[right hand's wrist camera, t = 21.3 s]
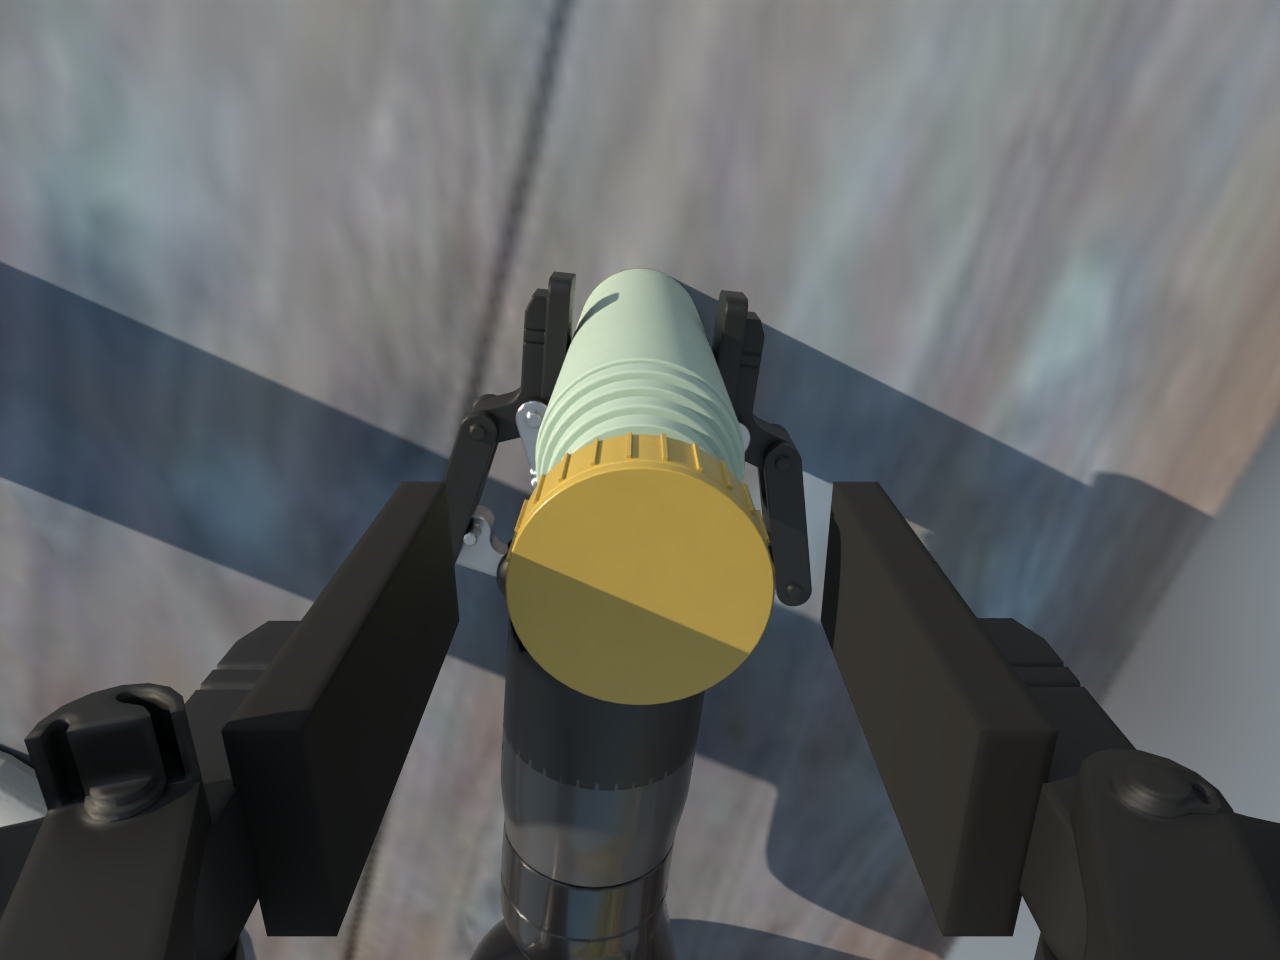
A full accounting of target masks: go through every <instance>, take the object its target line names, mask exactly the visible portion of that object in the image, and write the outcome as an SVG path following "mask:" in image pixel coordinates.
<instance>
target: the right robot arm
mask: <svg viewBox="0 0 1280 960" xmlns="http://www.w3.org/2000/svg"><path fill="white" fill-rule="evenodd" d="M458 623H459V613H458V602H457V591H456V580H455V569H454V558H453V547H452V536H451V525H450V514H449V503H448V493H447V482H402V483H401V484H400V486H399V487H398V488H397V490H396V491H395V492H394V494H393V495H392V497H391V498H390V499H389V501H388V502H387V503H386V505H385V506H384V508H383V509H382V510H381V512H380V513H379V514H378V516H377V517H376V519H375V520H374V521H373V523H372V524H371V525H370V527H369V528H368V530H367V531H366V532H365V534H364V535H363V536H362V538H361V539H360V541H359V542H358V543H357V545H356V546H355V547H354V549H353V550H352V552H351V553H350V554H349V556H348V557H347V558H346V560H345V561H344V563H343V564H342V565H341V567H340V568H339V569H338V571H337V572H336V574H335V575H334V576H333V578H332V579H331V580H330V582H329V583H328V585H327V586H326V587H325V589H324V590H323V591H322V593H321V594H320V596H319V597H318V598H317V600H316V601H315V602H314V604H313V605H312V607H311V608H310V609H309V611H308V612H307V613H306V615H305V616H304V617H303V619H302V620H301V621H268V622H266V623H265V624H263V625H262V626H260V627H258V628H257V629H255V630H254V631H252V632H251V633H249V634H247V635H246V636H244V637H243V638H241V639H240V640H238V641H237V642H236V643H235V644H234V645H233V647H232V648H231V649H230V650H229V651H228V653H227V654H226V655H225V656H224V657H223V659H222V660H221V661H220V662H219V663H218V665H217V670H213V671H212V672H211V673H210V674H209V675H208V677H207V678H206V679H205V680H204V682H203V683H202V684H201V689H200V690H196V691H195V692H194V694H193V695H192V696H191V697H190V698H189V700H188V701H187V702H186V703H185V704H184V701H183V696H181V695H180V694H179V693H177V692H176V691H175V690H173V689H172V688H171V687H167V686H162V685H156V684H151V683H145V684H132V685H121V686H117V687H113V688H109V689H106V690H102V691H98V692H94V693H91V694H89V695H86V696H84V697H82V698H80V699H77V700H75V701H73V702H70V703H68V704H66V705H64V706H62V707H60V708H59V709H58V710H56V711H55V712H53V713H52V714H50V715H49V716H47V717H46V718H44V719H43V720H41V721H40V722H39V723H38V724H37V725H36V726H35V728H34V729H33V730H32V731H31V732H30V734H29V735H28V736H27V737H26V738H25V740H24V741H25V744H26V747H27V750H28V753H29V756H30V759H31V762H32V765H33V768H34V771H35V774H36V777H37V780H38V783H39V786H40V789H41V792H42V795H43V798H44V801H45V804H46V807H47V810H48V811H47V813H46V815H45V817H41V818H38V819H34V820H30V821H26V822H21V823H17V824H12V825H7V826H3V827H0V960H245V956H244V950H243V945H242V941H241V937H240V933H241V931H242V930H243V928H244V926H245V924H246V922H247V920H248V918H249V916H250V914H251V912H252V910H253V908H254V906H255V904H256V902H257V900H258V898H259V902H260V906H261V911H262V915H263V920H264V924H265V928H266V933H267V936H337V935H338V932H339V929H340V927H341V924H342V922H343V919H344V917H345V914H346V911H347V909H348V906H349V904H350V901H351V898H352V896H353V893H354V891H355V888H356V886H357V883H358V880H359V878H360V875H361V873H362V870H363V868H364V865H365V862H366V860H367V857H368V855H369V852H370V850H371V847H372V844H373V842H374V839H375V837H376V834H377V832H378V829H379V826H380V824H381V821H382V819H383V816H384V813H385V811H386V808H387V806H388V803H389V801H390V798H391V795H392V793H393V790H394V788H395V785H396V783H397V780H398V777H399V775H400V772H401V770H402V767H403V765H404V762H405V759H406V757H407V754H408V752H409V749H410V746H411V744H412V741H413V739H414V736H415V734H416V731H417V728H418V726H419V723H420V721H421V718H422V716H423V713H424V710H425V708H426V705H427V703H428V700H429V698H430V695H431V692H432V690H433V687H434V685H435V682H436V679H437V677H438V674H439V672H440V669H441V667H442V664H443V661H444V659H445V656H446V654H447V651H448V649H449V646H450V643H451V641H452V638H453V636H454V633H455V631H456V628H457V625H458ZM821 623H822V625H823V628H824V631H825V633H826V636H827V638H828V641H829V643H830V646H831V649H832V651H833V654H834V656H835V659H836V661H837V664H838V667H839V669H840V672H841V674H842V677H843V679H844V682H845V685H846V687H847V690H848V692H849V695H850V698H851V700H852V703H853V705H854V708H855V710H856V713H857V716H858V718H859V721H860V723H861V726H862V728H863V731H864V734H865V736H866V739H867V741H868V744H869V746H870V749H871V752H872V754H873V757H874V759H875V762H876V765H877V767H878V770H879V772H880V775H881V777H882V780H883V783H884V785H885V788H886V790H887V793H888V795H889V798H890V801H891V803H892V806H893V808H894V811H895V813H896V816H897V819H898V821H899V824H900V826H901V829H902V832H903V834H904V837H905V839H906V842H907V844H908V847H909V850H910V852H911V855H912V857H913V860H914V862H915V865H916V868H917V870H918V873H919V875H920V878H921V880H922V883H923V886H924V888H925V891H926V893H927V896H928V898H929V901H930V904H931V906H932V909H933V911H934V914H935V917H936V919H937V922H938V924H939V927H940V929H941V932H942V935H943V936H1013V933H1014V928H1015V924H1016V920H1017V915H1018V911H1019V906H1020V902H1021V897H1022V896H1023V898H1024V900H1025V902H1026V904H1027V906H1028V908H1029V910H1030V912H1031V914H1032V916H1033V917H1034V919H1035V921H1036V923H1037V925H1038V927H1039V929H1040V931H1041V933H1040V937H1039V941H1038V946H1037V950H1036V954H1035V958H1034V960H1280V823H1275V822H1271V821H1266V820H1261V819H1257V818H1252V817H1248V816H1244V815H1241V814H1237V813H1234V811H1233V809H1232V808H1231V806H1230V805H1229V804H1228V802H1227V801H1226V799H1225V798H1224V797H1223V795H1222V794H1221V793H1220V791H1219V790H1218V789H1217V788H1215V787H1214V786H1213V785H1212V784H1210V783H1209V782H1208V781H1206V780H1205V779H1204V778H1203V777H1201V776H1200V775H1199V774H1197V773H1196V772H1194V771H1192V770H1190V769H1188V768H1186V767H1184V766H1182V765H1180V764H1178V763H1176V762H1174V761H1172V760H1170V759H1168V758H1164V757H1161V756H1157V755H1154V754H1151V753H1147V752H1144V751H1140V750H1136V749H1135V747H1134V746H1133V745H1132V744H1131V743H1130V741H1129V740H1128V739H1127V738H1126V737H1125V735H1124V734H1123V733H1122V732H1121V731H1120V729H1119V728H1118V727H1117V726H1116V725H1115V723H1114V722H1113V721H1112V720H1111V719H1110V717H1109V716H1108V715H1107V714H1106V713H1105V711H1104V710H1103V709H1102V708H1101V707H1100V705H1099V704H1098V703H1097V702H1096V701H1095V699H1094V698H1093V697H1092V696H1091V695H1090V693H1089V692H1088V691H1087V690H1086V689H1085V687H1080V681H1079V680H1078V679H1077V678H1076V677H1075V675H1074V674H1073V673H1072V672H1071V671H1070V670H1069V668H1068V667H1064V665H1063V661H1062V660H1061V659H1060V658H1059V656H1058V655H1057V654H1056V653H1055V652H1054V650H1053V649H1052V648H1051V647H1050V646H1049V644H1048V643H1047V642H1046V641H1045V640H1044V638H1042V637H1040V636H1039V635H1037V634H1036V633H1034V632H1033V631H1031V630H1029V629H1028V628H1026V627H1025V626H1023V625H1022V624H1020V623H1018V622H1017V621H1015V620H1014V619H1012V618H977V617H976V616H975V615H974V613H973V612H972V611H971V609H970V608H969V607H968V605H967V604H966V602H965V601H964V600H963V598H962V597H961V596H960V594H959V593H958V591H957V590H956V589H955V587H954V586H953V585H952V583H951V582H950V580H949V579H948V578H947V576H946V575H945V574H944V572H943V571H942V569H941V568H940V567H939V565H938V564H937V563H936V561H935V560H934V558H933V557H932V556H931V554H930V553H929V552H928V550H927V549H926V547H925V546H924V545H923V543H922V542H921V541H920V539H919V538H918V536H917V535H916V534H915V532H914V531H913V530H912V528H911V527H910V525H909V524H908V523H907V521H906V520H905V519H904V517H903V516H902V514H901V513H900V512H899V510H898V509H897V508H896V506H895V505H894V503H893V502H892V501H891V499H890V498H889V497H888V495H887V494H886V492H885V491H884V490H883V488H882V487H881V486H880V484H879V483H878V482H833V492H832V503H831V514H830V525H829V536H828V547H827V558H826V569H825V580H824V591H823V602H822V613H821Z"/></svg>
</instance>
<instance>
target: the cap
mask: <svg viewBox="0 0 1280 960" xmlns="http://www.w3.org/2000/svg"><path fill="white" fill-rule="evenodd" d="M514 531H515V533H514V536H513V539H512V542H511V545H510V548H509V551H508V554H507V557H506V562H508V565H507V570H506V584H505V589H506V601H507V606H508V610H509V614H510V618H511V621H512V623H513V626H514V628H515V631H516V633H517V635H518V636H519V638H520V640H521V642H522V643H523V645H524V647H525V648H526V649H527V651H528V652H529V653H530V655H531V656H532V657H533V659H534V660H535V661H536V662H537V663H538V664H539V665H540V666H541V667H542V668H543V669H544V670H545V671H547V672H548V673H549V674H551V675H552V676H553V677H554V678H556V679H557V680H558V681H560V682H562V683H563V684H565V685H567V686H568V687H570V688H572V689H574V690H576V691H578V692H581V693H583V694H585V695H588V696H591V697H594V698H597V699H600V700H604V701H609V702H613V703H619V704H630V705H652V704H660V703H667V702H672V701H676V700H680V699H684V698H687V697H689V696H692V695H695V694H698V693H700V692H702V691H704V690H706V689H708V688H710V687H712V686H714V685H715V684H717V683H718V682H720V681H722V680H723V679H725V678H726V677H727V676H729V675H730V674H731V673H732V672H733V671H735V670H736V669H737V668H738V667H739V666H740V665H741V664H742V663H743V662H744V661H745V660H746V659H747V658H748V656H749V655H750V654H751V652H752V651H753V650H754V648H755V647H756V645H757V644H758V643H759V641H760V639H761V637H762V635H763V633H764V631H765V629H766V627H767V624H768V621H769V618H770V616H771V612H772V607H773V602H774V592H775V578H774V574H775V568H774V565H773V562H772V559H771V556H770V552H769V549H768V546H767V544H768V543H770V540H769V537H768V534H767V531H766V528H765V525H764V522H763V519H762V516H761V513H760V510H757V511H756V510H755V507H754V505H753V502H752V499H751V496H750V493H749V490H748V486H747V485H746V483H743V484H741V482H740V481H739V480H738V479H737V477H736V476H735V475H734V474H733V473H732V472H731V471H730V470H729V469H728V467H727V463H726V462H725V461H724V460H722V461H721V462H720V461H719V460H717V459H716V458H715V457H713V456H712V455H710V454H709V453H707V452H705V451H703V450H701V449H700V448H699V445H698V444H697V443H694V444H693V445H691V444H688V443H686V442H683V441H680V440H677V439H673V438H668V437H666V434H664V433H661V436H657V435H648V434H639V435H632V432H627V435H624V436H617V437H611V438H608V439H604V440H600V441H599V439H598V438H596V439H594V440H593V443H592V444H589V445H587V446H585V447H582V448H580V449H579V450H577V451H575V452H573V453H572V454H570V455H569V453H568V452H567V453H566V454H564V456H563V460H562V461H560V462H559V463H558V464H556V465H555V466H554V467H553V468H552V469H551V470H550V471H549V472H548V473H547V474H546V475H545V474H542V475H541V476H540V478H539V482H538V485H537V487H536V488H535V490H534V492H533V493H532V495H531V497H530V499H529V500H526V499H525V501H524V503H523V506H522V509H521V512H520V515H519V518H518V521H517V524H516V527H515V530H514Z"/></svg>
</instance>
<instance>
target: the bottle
mask: <svg viewBox="0 0 1280 960" xmlns="http://www.w3.org/2000/svg"><path fill="white" fill-rule="evenodd" d="M627 432H632V435H639V434H648V435H657V436H661V433H664V434H666V437H668V438H673V439H677V440H680V441H683V442H686V443H688V444H691V445H693V444H694V443H697V444H698V445H699V448H700V449H701V450H703V451H705V452H707V453H709V454H710V455H712V456H713V457H715V458H716V459H717V460H719V461H720V462H721V461H722V460H724V461H725V462H726V463H727V467H728V469H729V470H730V471H731V472H732V473H733V474H734V475H735V476H736V477H737V479H738V480H739V481H740V482H741V484H743V479H744V463H745V449H744V442H743V436H742V432H741V429H740V425H739V422H738V420H737V417H736V414H735V412H734V409H733V406H732V404H731V401H730V398H729V395H728V393H727V390H726V387H725V385H724V382H723V379H722V376H721V374H720V371H719V368H718V366H717V363H716V360H715V358H714V355H713V352H712V349H711V347H710V344H709V341H708V339H707V336H706V333H705V330H704V328H703V325H702V322H701V320H700V317H699V314H698V312H697V309H696V306H695V304H694V302H693V300H692V298H691V297H690V295H689V294H688V292H687V291H686V290H685V289H684V288H683V287H682V286H681V285H680V284H679V283H678V282H677V281H675V280H674V279H672V278H671V277H669V276H667V275H665V274H663V273H660V272H657V271H653V270H648V269H632V270H626V271H623V272H620V273H617V274H615V275H613V276H611V277H609V278H608V279H606V280H605V281H603V282H602V283H601V284H600V285H599V286H597V288H596V289H595V290H594V291H593V292H592V294H591V295H590V297H589V298H588V300H587V302H586V304H585V306H584V309H583V311H582V314H581V317H580V320H579V322H578V325H577V328H576V330H575V333H574V336H573V339H572V341H571V344H570V347H569V350H568V352H567V355H566V358H565V360H564V363H563V366H562V369H561V371H560V374H559V377H558V379H557V382H556V385H555V388H554V390H553V393H552V396H551V398H550V401H549V404H548V407H547V409H546V412H545V415H544V418H543V420H542V423H541V426H540V429H539V432H538V437H537V442H536V455H535V461H536V478H537V485H538V482H539V478H540V476H541V475H542V474H545V475H546V474H547V473H548V472H549V471H550V470H551V469H552V468H553V467H554V466H555V465H556V464H558V463H559V462H560V461H562V460H563V456H564V454H566V453H567V452H568V453H569V455H570V454H572V453H573V452H575V451H577V450H579V449H580V448H582V447H585V446H587V445H589V444H592V443H593V440H594V439H596V438H598V439H599V441H600V440H604V439H608V438H611V437H617V436H624V435H627Z"/></svg>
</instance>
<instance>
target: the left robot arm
mask: <svg viewBox="0 0 1280 960" xmlns="http://www.w3.org/2000/svg"><path fill="white" fill-rule="evenodd" d="M575 283H576V274H572V273H563V272H553V274H552V275H551V277H550V279H549V286H548V290H547V289H537V290H536V291H535V293H534V294H533V295H532V297H531V300H530V302H529V304H528V306H527V308H526V310H525V322H524V343H523V360H522V378H521V387H520V388H519V389H517V390H516V391H514V392H511V393H507V394H503V395H499V396H496V395H493V394H486V395H483V396H481V397H479V398H478V399H477V400H476V402H475V403H474V405H473V406H472V409H471V412H470V413H469V414H468V415H467V416H466V417H465V418H464V420H463V421H462V423H461V425H460V428H459V431H458V434H457V437H456V441H455V444H454V447H453V451H452V454H451V457H450V460H449V464H448V467H447V470H446V474H445V477H444V480H443V482H447V493H448V503H449V514H450V525H451V536H452V547H453V558H454V565H455V564H458V565H461V566H464V567H467V568H470V569H473V570H476V571H479V572H483V573H486V574H489V575H492V576H495V577H497V583H498V586H499V589H500V590H501V592H502V594H503V596H504V597H505V600H506V589H505V584H506V570H507V565H508V562H506V557H507V554H508V551H509V548H510V545H511V542H512V540H511V541H510V542H509V543H508V544H505V543H503V542H502V541H500V540H499V539H498V537H497V536H496V534H495V531H494V526H495V517H494V515H493V513H492V511H491V510H490V509H488V508H487V507H485V506H483V505H480V504H479V501H480V498H481V495H482V492H483V489H484V486H485V483H486V480H487V477H488V474H489V471H490V468H491V464H492V461H493V458H494V455H495V452H496V449H497V446H498V443H499V442H502V441H506V440H511V439H515V438H519V437H521V440H522V443H523V447H524V450H525V453H526V456H527V460H528V463H529V466H530V470H531V481H532V487H533V491H534V490H535V488H536V487H537V478H536V461H535V455H536V442H537V437H538V432H539V429H540V426H541V423H542V420H543V418H544V415H545V412H546V409H547V407H548V404H549V401H550V398H551V396H552V393H553V390H554V388H555V385H556V382H557V379H558V377H559V374H560V371H561V369H562V366H563V363H564V360H565V358H566V355H567V352H568V350H569V347H570V344H571V337H572V324H573V310H574V297H575ZM763 342H764V333H763V329H762V324H761V320H760V319H759V317H758V316H757V315H756V313H755V312H748V299H747V298H746V296H745V295H744V294H743V292H734V291H724V290H721V293H720V297H719V303H718V310H717V317H716V324H715V331H714V338H713V345H712V352H713V355H714V358H715V360H716V363H717V366H718V368H719V371H720V374H721V376H722V379H723V382H724V385H725V387H726V390H727V393H728V395H729V398H730V401H731V404H732V406H733V409H734V412H735V414H736V417H737V420H738V422H739V425H740V429H741V432H742V436H743V442H744V449H745V461H746V462H748V463H750V464H752V465H754V466H756V467H758V476H759V486H760V496H761V506H762V516H763V522H764V525H765V528H766V531H767V534H768V537H769V540H770V543H768V544H767V546H768V549H769V552H770V556H771V559H772V562H773V565H774V568H775V574H774V578H775V592H774V594H777V596H778V598H779V600H780V601H781V602H782V603H784V604H785V605H788V606H798V605H801V604H803V603H805V602H806V601H807V600H808V599H809V597H810V595H811V592H812V587H811V575H810V562H809V549H808V537H807V524H806V512H805V499H804V486H803V474H802V461H801V457H800V455H799V453H798V451H797V449H796V447H795V445H794V443H793V442H792V440H791V438H790V436H789V434H788V432H787V431H786V429H785V428H784V427H782V426H780V425H778V424H769V423H767V422H765V421H763V420H761V419H759V418H757V417H756V416H755V415H754V414H753V404H754V398H755V391H756V385H757V379H758V373H759V366H760V361H761V354H762V348H763ZM506 602H507V601H506ZM704 692H705V690H704V691H702V692H700V693H698V694H695V695H692V696H689V697H687V698H684V699H680V700H676V701H672V702H667V703H660V704H652V705H630V704H619V703H613V702H609V701H604V700H600V699H597V698H594V697H591V696H588V695H585V694H583V693H581V692H578V691H576V690H574V689H572V688H570V687H568V686H567V685H565V684H563V683H562V682H560V681H558V680H557V679H556V678H554V677H553V676H552V675H551V674H549V673H548V672H547V671H545V670H544V669H543V668H542V667H541V666H540V665H539V664H538V663H537V662H536V661H535V660H534V659H533V657H532V656H531V655H530V653H529V652H528V651H527V649H526V648H525V647H524V645H523V643H522V642H521V640H520V638H519V636H518V635H517V633H516V631H515V628H514V626H513V623H512V621H511V618H510V614H509V629H508V647H507V665H506V683H505V701H504V719H503V739H502V756H501V787H502V796H503V804H504V814H505V820H504V833H503V850H502V867H501V907H502V913H503V917H504V919H503V920H502V921H500V922H499V923H497V924H496V925H495V926H494V927H493V928H492V929H491V930H490V931H489V932H488V933H487V934H486V935H485V936H484V938H483V939H482V940H481V942H480V943H479V945H478V946H477V948H476V949H475V951H474V953H473V955H472V957H471V959H470V960H677V958H676V953H675V948H674V943H673V938H672V933H671V926H670V920H669V915H668V910H667V906H666V901H665V897H666V891H667V883H668V877H669V871H670V864H671V858H672V852H673V845H674V839H675V834H676V830H677V826H678V823H679V820H680V818H681V815H682V812H683V809H684V806H685V802H686V799H687V795H688V790H689V785H690V779H691V773H692V767H693V761H694V754H695V748H696V742H697V736H698V729H699V723H700V716H701V710H702V704H703V698H704Z"/></svg>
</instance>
